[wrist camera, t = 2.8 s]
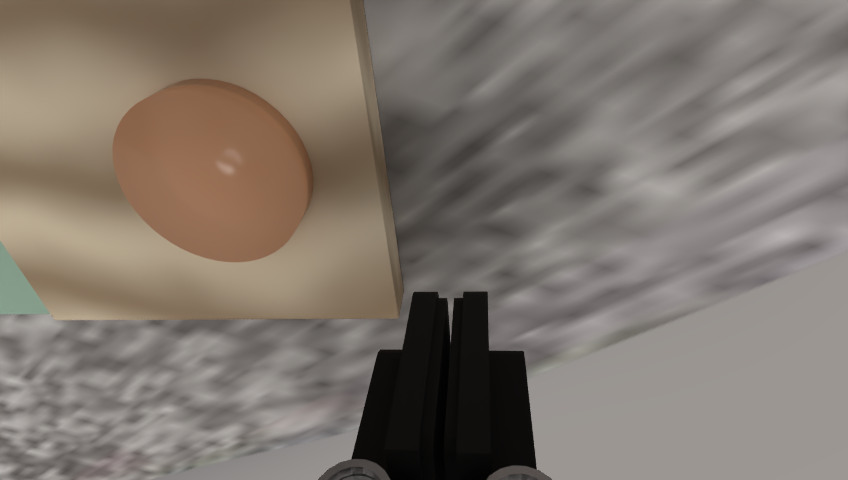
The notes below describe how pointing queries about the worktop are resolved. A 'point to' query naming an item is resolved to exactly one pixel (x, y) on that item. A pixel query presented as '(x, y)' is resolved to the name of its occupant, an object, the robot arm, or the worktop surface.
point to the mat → (16, 289)
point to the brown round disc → (213, 170)
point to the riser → (140, 78)
